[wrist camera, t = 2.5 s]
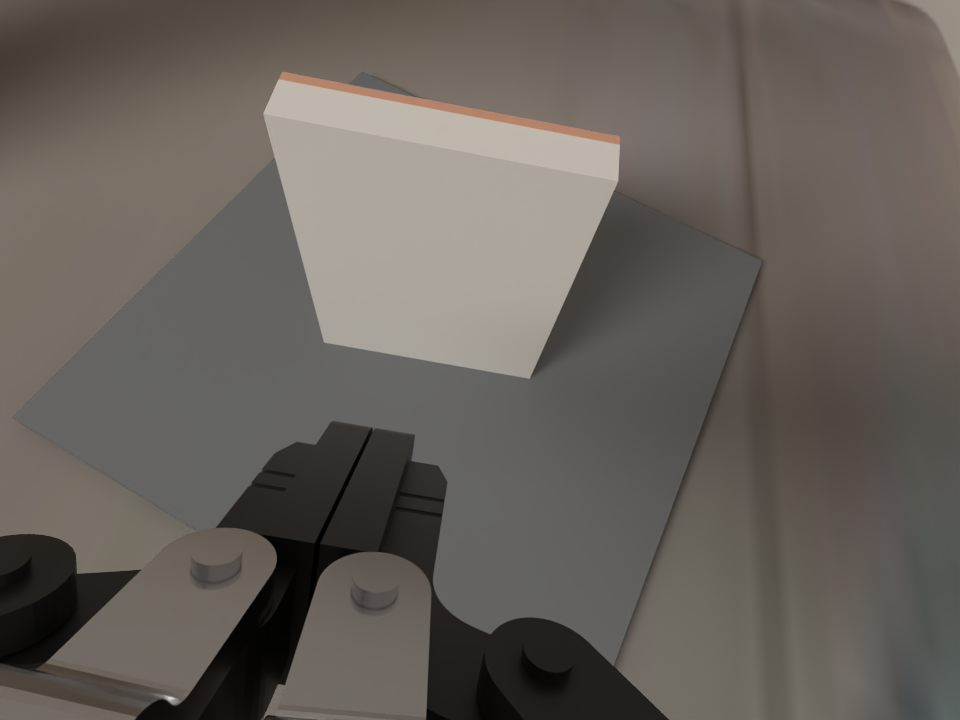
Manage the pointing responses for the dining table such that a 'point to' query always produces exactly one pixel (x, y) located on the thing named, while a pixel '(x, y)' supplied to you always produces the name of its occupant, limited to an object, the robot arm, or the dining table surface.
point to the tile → (436, 220)
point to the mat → (425, 404)
